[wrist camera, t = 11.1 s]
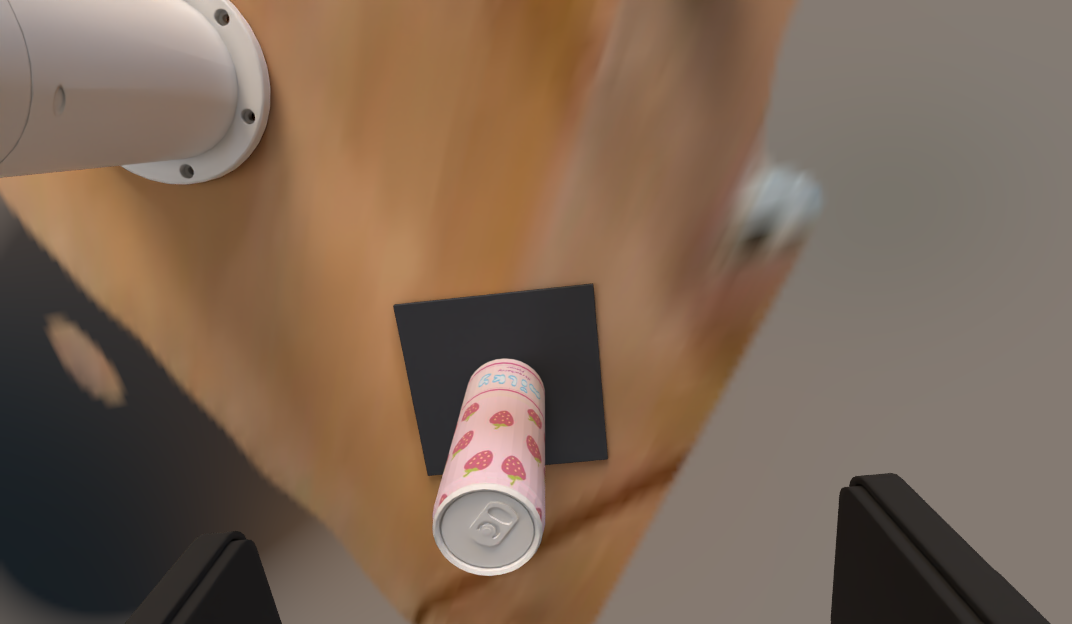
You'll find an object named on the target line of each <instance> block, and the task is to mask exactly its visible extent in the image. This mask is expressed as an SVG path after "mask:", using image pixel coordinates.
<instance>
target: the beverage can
mask: <svg viewBox="0 0 1072 624" xmlns="http://www.w3.org/2000/svg"><path fill="white" fill-rule="evenodd" d="M544 527H545V389H544V385H543V382H542V380H541V378H540V376H539V375H538V374H537V373H536V372H535V370H534V369H532V368H531V367H530V366H528V365H527V364H525V363H523V362H521V361H517V360H514V359H496V360H493V361H490V362H487V363H486V364H484V365H482V366H481V367H479V368H478V369H477V370H476V371H475V372H474V374H473V375H472V377H471V378H470V381H469V383H468V386H467V390H466V393H465V397H464V401H463V404H462V408H461V411H460V415H459V419H458V422H457V426H456V429H455V433H454V437H453V440H452V444H451V447H450V451H449V455H448V458H447V462H446V465H445V469H444V472H443V476H442V480H441V483H440V487H439V490H438V494H437V498H436V501H435V505H434V510H433V536H434V539H435V541H436V544H437V546H438V548H439V549H440V551H441V552H442V554H443V555H444V556H445V557H446V558H447V559H448V560H449V561H450V562H451V563H452V564H454V565H455V566H457V567H458V568H460V569H462V570H465V571H467V572H469V573H473V574H478V575H488V576H492V575H501V574H505V573H508V572H511V571H513V570H515V569H517V568H519V567H521V566H522V565H523V564H525V563H526V562H527V561H528V560H530V558H531V557H532V556H533V555H534V554H535V553H536V551H537V549H538V547H539V545H540V543H541V539H542V534H543V531H544Z"/></svg>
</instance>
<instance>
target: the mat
mask: <svg viewBox="0 0 1072 624" xmlns="http://www.w3.org/2000/svg"><path fill="white" fill-rule="evenodd" d="M393 307H394V312H395V317H396V321H397V326H398V331H399V336H400V341H401V346H402V351H403V356H404V361H405V365H406V370H407V375H408V380H409V385H410V390H411V395H412V400H413V405H414V410H415V414H416V419H417V424H418V429H419V434H420V439H421V444H422V449H423V454H424V459H425V463H426V468H427V473H428V476H432V475H442V474H443V472H444V469H445V465H446V462H447V458H448V455H449V451H450V447H451V444H452V440H453V437H454V433H455V429H456V426H457V422H458V419H459V415H460V411H461V408H462V404H463V401H464V397H465V393H466V390H467V386H468V383H469V381H470V378H471V377H472V375H473V374H474V372H475V371H476V370H477V369H478V368H479V367H481V366H482V365H484V364H486V363H487V362H490V361H493V360H496V359H514V360H517V361H521V362H523V363H525V364H527V365H528V366H530V367H531V368H532V369H534V370H535V372H536V373H537V374H538V375H539V376H540V378H541V380H542V382H543V385H544V389H545V465H551V464H562V463H573V462H584V461H595V460H606V459H608V455H607V443H606V431H605V420H604V408H603V396H602V384H601V372H600V360H599V348H598V336H597V324H596V312H595V300H594V288H593V284H584V285H575V286H565V287H556V288H546V289H537V290H527V291H518V292H509V293H499V294H490V295H480V296H471V297H461V298H452V299H443V300H433V301H424V302H414V303H405V304H395V305H394V306H393Z"/></svg>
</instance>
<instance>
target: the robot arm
mask: <svg viewBox="0 0 1072 624" xmlns="http://www.w3.org/2000/svg"><path fill="white" fill-rule="evenodd" d="M227 16H229V20H230V21H229V23H227V21H226V18H227ZM269 111H270V81H269V75H268V68H267V64H266V61H265V58H264V55H263V52H262V49H261V46H260V44H259V42H258V40H257V38H256V37H255V35H254V33H253V31H252V29H251V27H250V25H249V24H248V23H247V21H246V20H245V18H244V17H243V16H242V14H241V13H240V12H239V10H238V9H237V8H236V6H234V5H233V4H232V3H231V2H230V1H229V0H0V178H2V177H12V176H22V175H32V174H42V173H52V172H62V171H71V170H81V169H91V168H101V167H111V166H122V167H123V168H125V169H126V170H128V171H130V172H132V173H134V174H137V175H139V176H142V177H144V178H146V179H149V180H153V181H158V182H162V183H167V184H194V183H201V182H206V181H209V180H213V179H216V178H220V177H222V176H224V175H226V174H227V173H229V172H231V171H233V170H235V169H236V168H237V167H238V166H240V165H241V164H242V163H243V162H244V161H245V160H246V159H248V158H249V156H250V155H251V153H252V152H253V151H254V149H255V148H256V147H257V145H258V144H259V142H260V139H261V137H262V135H263V133H264V130H265V128H266V125H267V120H268V115H269ZM252 113H254V115H255V121H254V120H253V119H252ZM192 168H193V170H194V173H193V172H192ZM831 609H832V610H831V624H1050V623H1049V622H1048V621H1047V620H1046V619H1045V618H1044V617H1043V616H1042V615H1041V614H1040V613H1039V612H1038V611H1037V610H1036V609H1035V608H1034V607H1033V606H1032V605H1031V604H1030V603H1029V602H1028V601H1027V600H1026V599H1025V598H1024V597H1023V596H1022V595H1021V594H1020V593H1019V592H1018V591H1017V590H1016V589H1015V588H1014V587H1013V586H1012V585H1011V584H1010V583H1009V582H1008V581H1007V580H1006V579H1005V578H1004V577H1002V576H1001V574H999V573H998V572H997V571H996V570H994V569H993V568H992V567H991V566H990V565H989V564H988V563H987V562H986V561H985V560H984V559H983V558H982V557H981V556H980V555H979V554H978V553H977V552H976V551H975V550H974V549H973V548H972V547H970V545H969V544H968V543H967V542H966V541H965V540H964V539H963V538H962V537H961V536H960V535H959V534H958V533H957V532H955V530H953V528H951V527H950V526H949V525H948V524H947V523H946V522H945V521H944V520H943V519H942V518H941V517H940V516H939V515H938V514H937V513H936V512H935V511H934V510H933V509H932V508H931V507H930V506H929V505H928V504H927V503H926V502H925V501H924V500H923V499H922V498H921V497H920V496H919V495H918V494H917V493H916V492H915V491H914V490H913V489H912V488H911V487H910V486H909V485H908V484H907V483H906V482H905V481H904V480H903V479H902V478H901V477H899V476H898V475H897V474H893V473H888V474H876V475H864V476H856V477H853V478H852V480H851V481H850V485H849V487H844V488H842V489H841V491H840V495H839V509H838V523H837V537H836V551H835V566H834V580H833V594H832V608H831ZM125 624H282V623H281V620H280V617H279V614H278V611H277V608H276V605H275V602H274V599H273V596H272V593H271V590H270V587H269V584H268V581H267V578H266V575H265V572H264V569H263V566H262V563H261V560H260V557H259V554H258V551H257V548H256V546H255V543H254V542H253V541H252V540H246V538H245V536H244V534H242V533H241V532H238V531H233V532H221V533H209V534H203V535H200V536H198V537H197V538H196V539H195V540H194V541H193V542H192V543H191V545H190V546H189V547H188V548H187V549H186V551H185V552H184V553H183V554H182V556H181V557H180V558H179V559H178V560H177V561H176V563H175V564H174V565H173V566H172V567H171V569H170V570H169V571H168V572H167V573H166V575H165V576H164V577H163V578H162V579H161V581H160V582H159V583H158V584H157V585H156V587H155V588H154V589H153V590H152V591H151V593H150V594H149V595H148V596H147V597H146V599H145V600H144V601H143V602H142V603H141V605H140V606H139V607H138V608H137V609H136V611H135V612H134V613H133V614H132V615H131V617H130V618H129V619H128V620H127V621H126V623H125Z"/></svg>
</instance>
